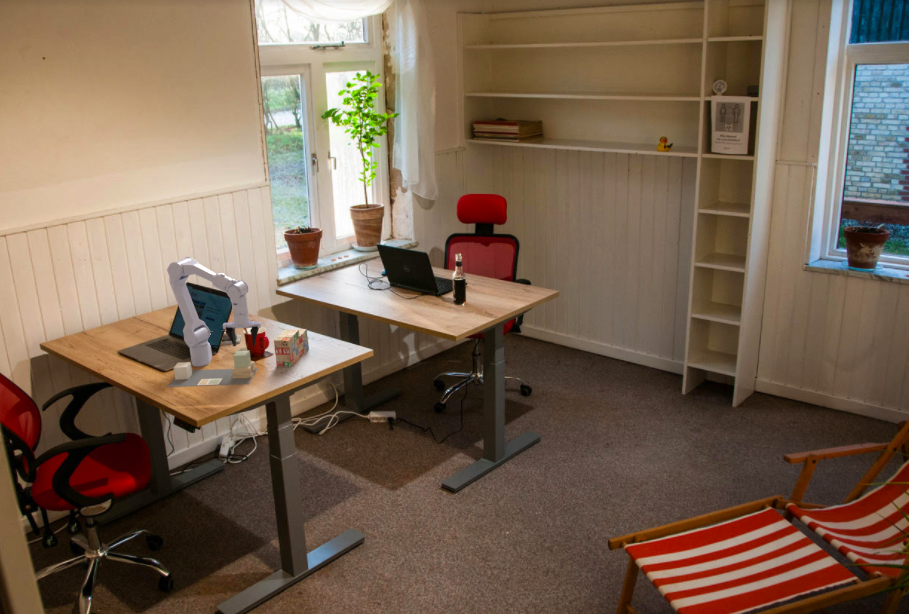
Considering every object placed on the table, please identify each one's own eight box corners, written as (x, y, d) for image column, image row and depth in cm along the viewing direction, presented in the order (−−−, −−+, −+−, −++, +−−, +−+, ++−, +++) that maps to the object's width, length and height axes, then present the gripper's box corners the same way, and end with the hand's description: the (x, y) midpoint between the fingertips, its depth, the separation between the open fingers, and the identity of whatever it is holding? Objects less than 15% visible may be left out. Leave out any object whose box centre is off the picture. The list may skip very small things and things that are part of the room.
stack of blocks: (295, 349, 330) (292, 321, 326) (309, 349, 329) (306, 322, 325) (276, 368, 310) (273, 339, 306) (291, 369, 309) (288, 340, 305)
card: (201, 379, 299) (201, 378, 299) (222, 379, 299) (222, 378, 299) (197, 385, 294) (197, 384, 294) (218, 385, 294) (218, 384, 294)
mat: (180, 372, 309) (180, 370, 309) (258, 369, 309) (258, 367, 309) (166, 388, 294) (166, 387, 294) (248, 386, 294) (248, 384, 294)
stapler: (195, 338, 334) (198, 330, 344) (197, 348, 336) (200, 340, 345) (238, 333, 337) (240, 326, 347) (240, 344, 339) (241, 336, 348)
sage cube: (238, 362, 304) (236, 351, 302) (251, 362, 304) (249, 350, 302) (234, 367, 299) (233, 355, 298) (247, 367, 299) (246, 355, 298)
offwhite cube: (179, 374, 305) (177, 362, 304) (192, 374, 305) (190, 362, 304) (175, 379, 300) (173, 367, 299) (188, 379, 300) (186, 367, 299)
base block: (237, 371, 306) (236, 362, 305) (255, 370, 306) (254, 361, 305) (233, 378, 299) (231, 368, 298) (251, 377, 299) (249, 368, 298)
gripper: (218, 316, 298) (223, 349, 303) (256, 315, 298) (260, 348, 303) (224, 310, 305) (228, 343, 309) (260, 309, 305) (264, 341, 309)
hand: (244, 345), depth 306 cm, fingers open, 7 cm apart
